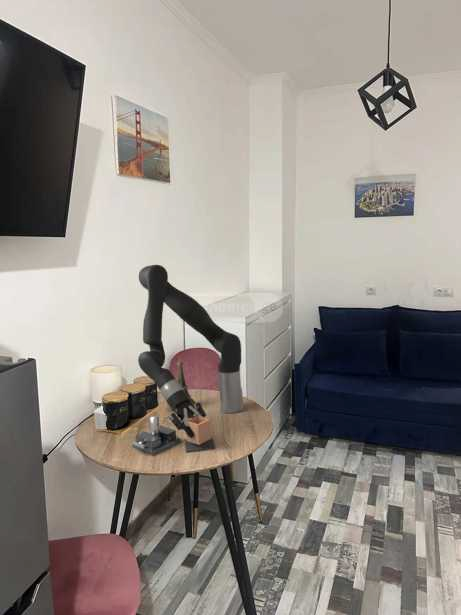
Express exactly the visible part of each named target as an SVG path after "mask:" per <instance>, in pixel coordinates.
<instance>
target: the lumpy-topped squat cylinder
mask: <svg viewBox="0 0 461 615" xmlns="http://www.w3.org/2000/svg"><path fill="white" fill-rule="evenodd" d="M93 417H94V427H95V429H96V430H98V429H107V427H106V421H107V416H106V414H105V413H104V411H103V406H102V404H101V405H100V406H99V407H97V408H95V409H94V411H93Z"/></svg>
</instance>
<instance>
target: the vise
mask: <svg viewBox="0 0 461 615" xmlns="http://www.w3.org/2000/svg"><path fill="white" fill-rule="evenodd" d="M149 420H150V422H149V423H150V432H147V431H142V432H140V433H137V434H136V435H135V441H134V440H133V441H132V442H131V444H132V448H133V449H135V450H138V451H140V452H143V453H146V454H148V455H150V456H152V457H153V456H155V455H156V454H159V453H161V452H163V451H165V450H167V449H169V448H171V447H173V446H175V445H177V444H179V443H181V437H178V436H177V431H176V429H173V428H170V427H167V426H163V425H162V424H161V425H160V417H159V415H158V414H154V415H151V416H149Z"/></svg>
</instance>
